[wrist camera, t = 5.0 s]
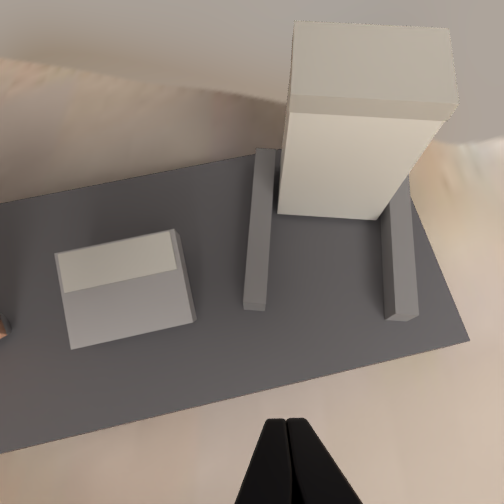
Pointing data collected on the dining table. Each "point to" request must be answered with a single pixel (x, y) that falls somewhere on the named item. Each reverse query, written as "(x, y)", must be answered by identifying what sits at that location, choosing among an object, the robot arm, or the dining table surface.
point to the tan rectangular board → (4, 326)
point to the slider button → (360, 114)
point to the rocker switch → (124, 288)
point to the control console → (210, 298)
